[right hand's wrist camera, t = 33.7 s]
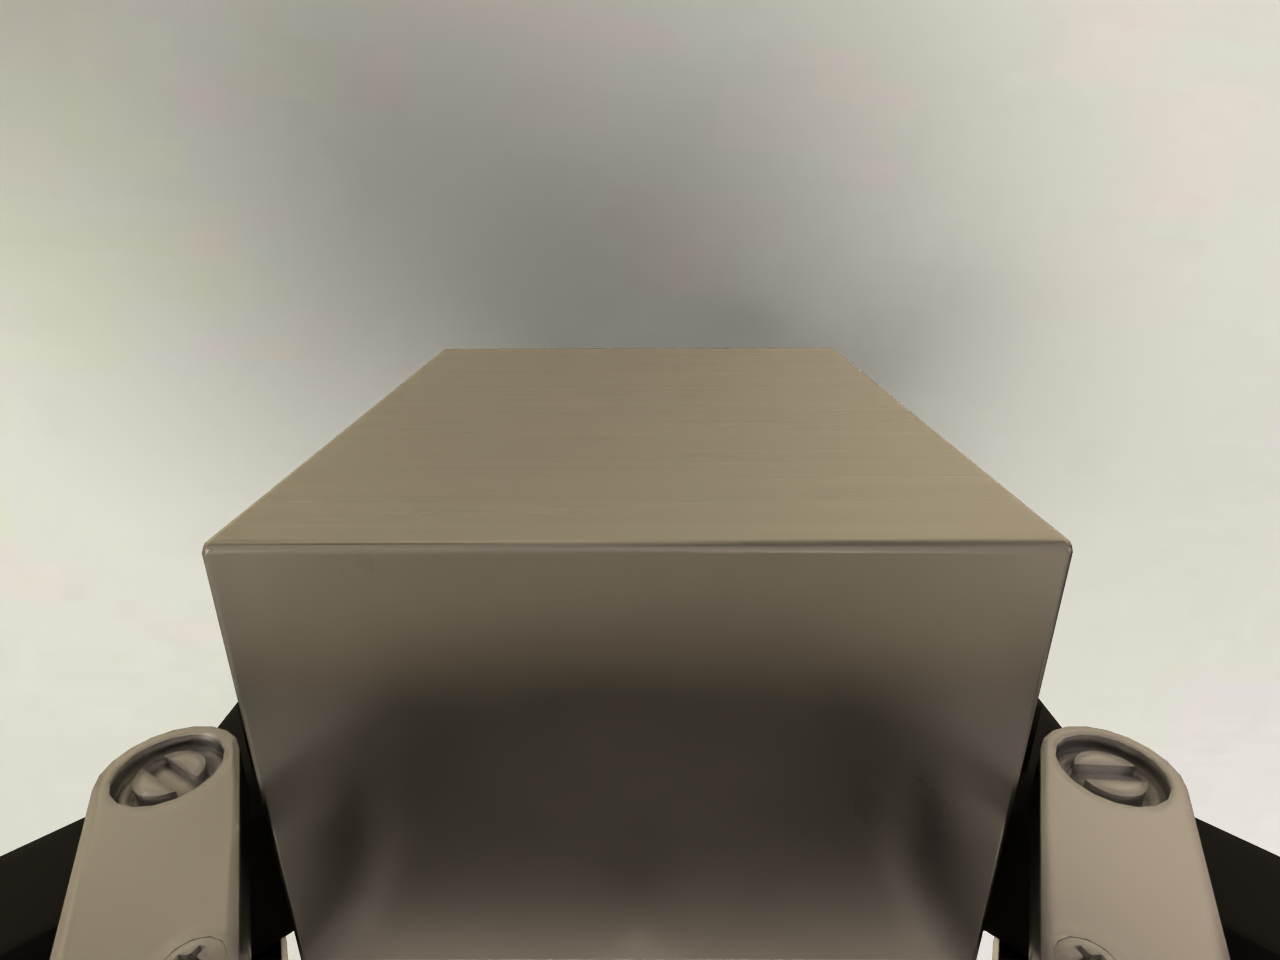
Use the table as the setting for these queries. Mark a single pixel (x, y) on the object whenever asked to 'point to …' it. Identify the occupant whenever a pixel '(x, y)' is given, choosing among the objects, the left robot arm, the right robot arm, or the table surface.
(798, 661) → the block
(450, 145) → the table surface
